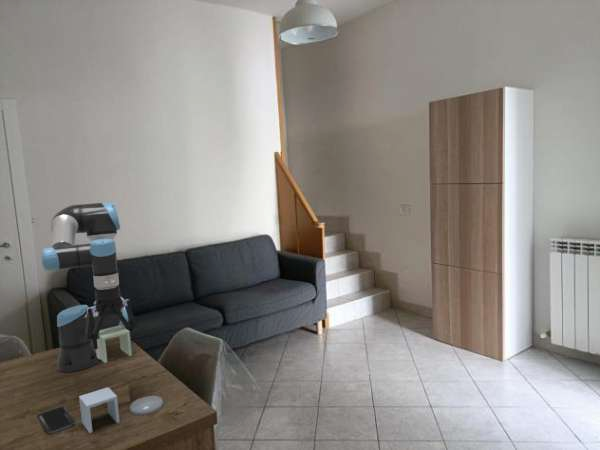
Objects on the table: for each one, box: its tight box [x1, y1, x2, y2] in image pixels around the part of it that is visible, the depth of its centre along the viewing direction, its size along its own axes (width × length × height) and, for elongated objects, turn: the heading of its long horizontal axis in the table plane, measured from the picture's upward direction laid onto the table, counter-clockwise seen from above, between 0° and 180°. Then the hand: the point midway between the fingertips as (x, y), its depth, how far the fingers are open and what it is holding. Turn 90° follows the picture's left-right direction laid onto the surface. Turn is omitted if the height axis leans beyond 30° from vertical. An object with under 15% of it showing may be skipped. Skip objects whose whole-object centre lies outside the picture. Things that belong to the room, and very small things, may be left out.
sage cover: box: [98, 325, 133, 364], centre depth 153 cm, size 9×9×8 cm
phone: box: [37, 406, 76, 436], centre depth 143 cm, size 8×1×15 cm
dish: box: [129, 395, 164, 416], centre depth 149 cm, size 10×10×1 cm
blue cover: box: [78, 386, 121, 434], centre depth 141 cm, size 9×9×8 cm
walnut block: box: [108, 381, 131, 406], centre depth 154 cm, size 5×5×5 cm
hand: (113, 353), depth 153 cm, fingers closed on sage cover, 9 cm apart
